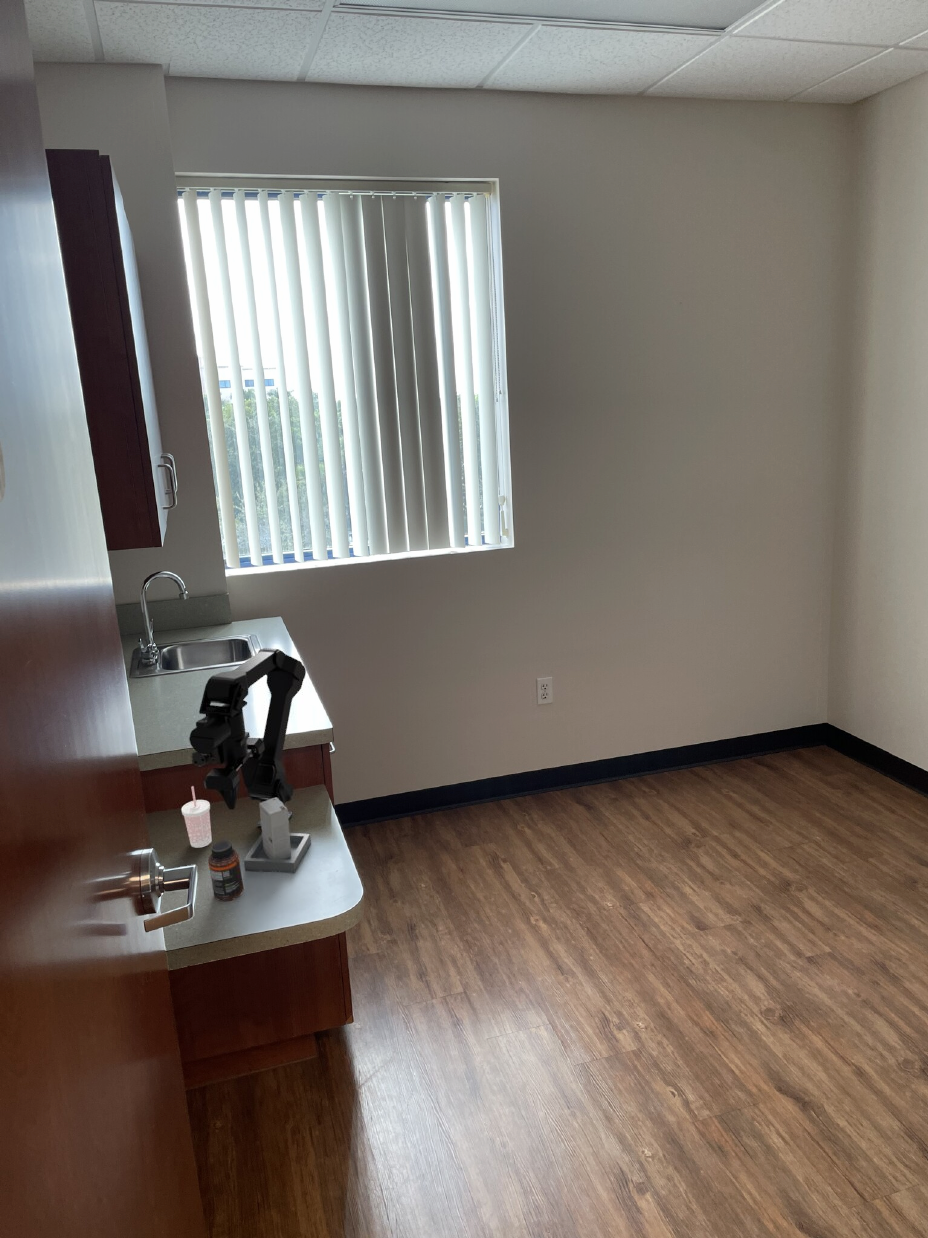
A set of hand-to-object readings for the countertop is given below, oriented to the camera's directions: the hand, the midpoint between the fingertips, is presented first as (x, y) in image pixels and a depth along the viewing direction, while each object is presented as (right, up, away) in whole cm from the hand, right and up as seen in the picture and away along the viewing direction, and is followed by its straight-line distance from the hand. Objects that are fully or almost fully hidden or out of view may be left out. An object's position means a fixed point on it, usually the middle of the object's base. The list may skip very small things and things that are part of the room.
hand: (240, 798), depth 184 cm
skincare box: (+8, -13, +1) cm, 15 cm away
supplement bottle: (0, -17, -10) cm, 20 cm away
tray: (+8, -13, +1) cm, 15 cm away
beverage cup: (-11, -12, +8) cm, 18 cm away
